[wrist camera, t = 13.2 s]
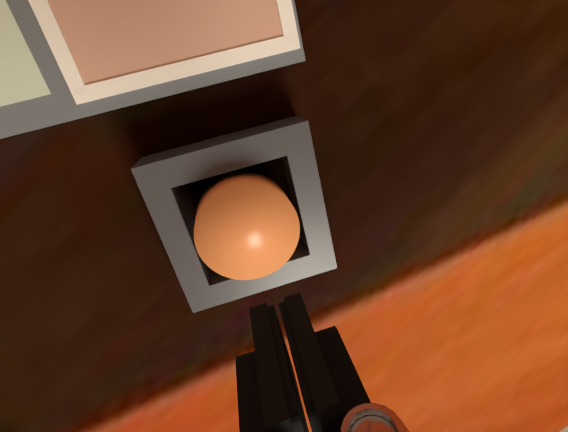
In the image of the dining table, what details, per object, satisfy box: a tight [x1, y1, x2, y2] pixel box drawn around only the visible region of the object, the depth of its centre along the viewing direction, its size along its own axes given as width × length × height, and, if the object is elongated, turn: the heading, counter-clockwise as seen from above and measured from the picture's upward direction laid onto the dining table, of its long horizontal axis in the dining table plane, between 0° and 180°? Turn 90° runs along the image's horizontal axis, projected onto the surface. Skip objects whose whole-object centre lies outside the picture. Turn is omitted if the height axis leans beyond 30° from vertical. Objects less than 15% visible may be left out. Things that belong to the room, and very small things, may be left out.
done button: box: [194, 172, 300, 280], centre depth 20 cm, size 6×6×2 cm
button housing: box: [131, 116, 337, 313], centre depth 22 cm, size 10×10×3 cm
